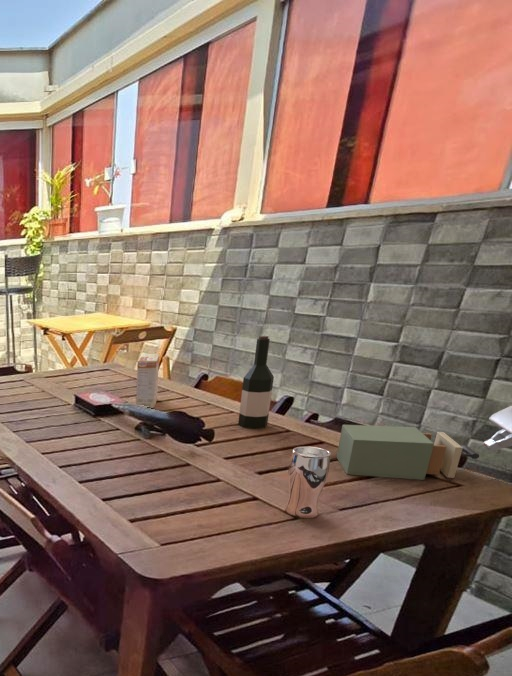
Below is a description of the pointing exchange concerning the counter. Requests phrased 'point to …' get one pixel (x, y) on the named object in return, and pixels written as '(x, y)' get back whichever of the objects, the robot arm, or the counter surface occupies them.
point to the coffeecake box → (147, 379)
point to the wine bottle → (257, 389)
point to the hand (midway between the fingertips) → (487, 447)
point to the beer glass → (306, 480)
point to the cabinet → (384, 451)
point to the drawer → (447, 455)
